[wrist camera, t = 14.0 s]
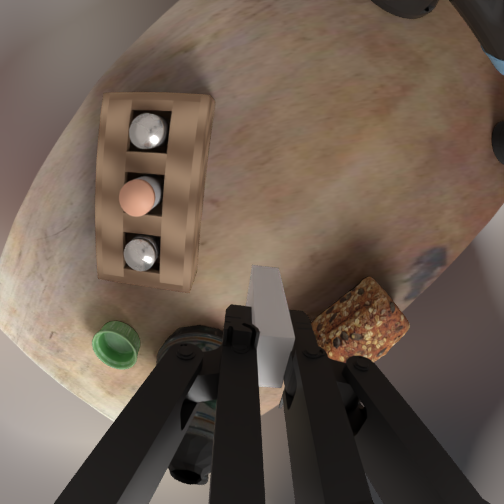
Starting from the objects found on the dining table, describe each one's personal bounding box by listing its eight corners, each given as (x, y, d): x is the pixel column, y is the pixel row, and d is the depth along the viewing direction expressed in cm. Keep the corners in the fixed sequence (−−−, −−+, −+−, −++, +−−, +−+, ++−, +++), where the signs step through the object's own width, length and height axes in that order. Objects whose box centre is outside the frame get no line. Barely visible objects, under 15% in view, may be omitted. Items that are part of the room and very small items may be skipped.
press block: (123, 98, 38) (103, 92, 32) (215, 101, 39) (209, 94, 33) (115, 260, 47) (97, 278, 41) (196, 272, 48) (189, 293, 42)
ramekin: (149, 332, 52) (143, 347, 48) (135, 362, 55) (129, 376, 51) (106, 309, 51) (97, 322, 47) (96, 341, 53) (87, 354, 49)
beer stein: (215, 308, 51) (197, 430, 27) (270, 379, 57) (280, 490, 33) (143, 343, 53) (100, 450, 30) (202, 405, 59) (189, 506, 36)
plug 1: (147, 116, 38) (131, 112, 32) (177, 117, 38) (165, 114, 32) (144, 146, 40) (127, 148, 33) (173, 148, 40) (161, 150, 34)
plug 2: (139, 224, 44) (123, 238, 38) (167, 227, 44) (154, 242, 38) (138, 251, 45) (124, 268, 39) (165, 255, 45) (154, 273, 39)
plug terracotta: (137, 172, 39) (119, 178, 33) (167, 174, 39) (154, 181, 33) (135, 203, 41) (118, 214, 35) (165, 206, 41) (152, 218, 35)
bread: (368, 269, 49) (392, 298, 39) (396, 306, 52) (420, 336, 42) (285, 337, 53) (292, 375, 44) (320, 366, 56) (331, 402, 47)
